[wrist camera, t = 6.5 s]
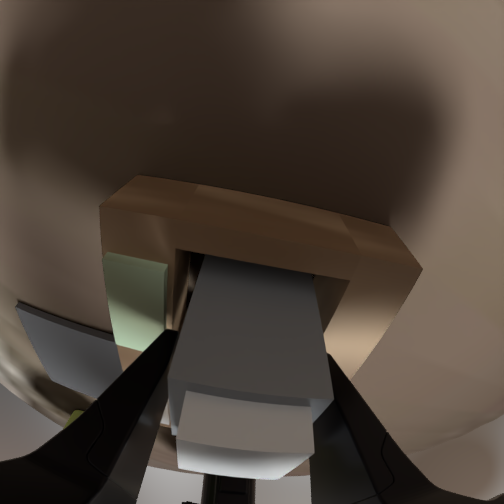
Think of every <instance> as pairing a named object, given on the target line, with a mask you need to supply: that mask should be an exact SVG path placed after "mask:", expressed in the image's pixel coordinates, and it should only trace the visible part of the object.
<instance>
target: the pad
mask: <svg viewBox="0 0 504 504" xmlns="http://www.w3.org/2000/svg"><path fill="white" fill-rule="evenodd" d="M15 308H16V310H17V313H18V315H19V317H20V320H21V322H22V324H23V327H24V329H25V331H26V333H27V335H28V337H29V339H30V341H31V344H32V346H33V348H34V350H35V351H36V353H37V355H38V357H39V359H40V361H41V363H42V365H43V366H44V368H45V370H46V372H47V374H48V375H49V377H50V379H51V380H52V381H54V382H56V383H58V384H60V385H63V386H65V387H68V388H70V389H73V390H75V391H78V392H80V393H83V394H85V395H88V396H91V397H94V398H98V397H99V396H100V395H101V394H102V393H103V392H104V391H105V390H106V389H107V388H108V387H109V386H110V385H111V384H112V383H113V382H114V381H115V380H116V379H117V378H118V377H119V376H120V375H121V374H122V373H123V369H122V365H121V361H120V357H119V353H118V348H117V344H116V342H115V338H114V335H112V334H108V333H105V332H101V331H98V330H95V329H92V328H88V327H85V326H82V325H79V324H76V323H73V322H70V321H67V320H64V319H61V318H59V317H56V316H53V315H50V314H48V313H45V312H42V311H40V310H37V309H35V308H32V307H30V306H27V305H25V304H22V303H20V302H18V304H17V305H16V306H15Z"/></svg>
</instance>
